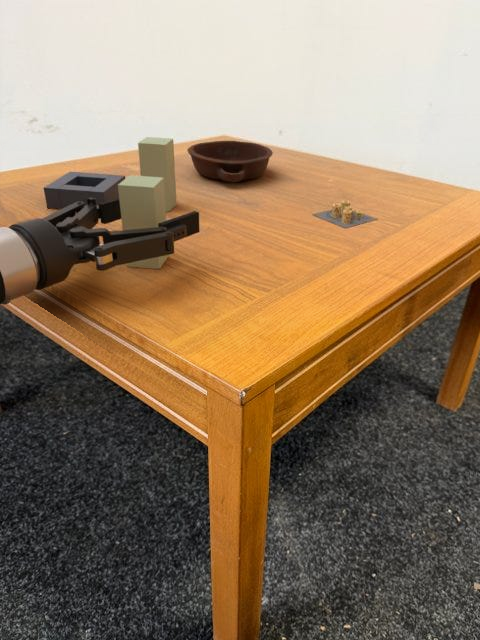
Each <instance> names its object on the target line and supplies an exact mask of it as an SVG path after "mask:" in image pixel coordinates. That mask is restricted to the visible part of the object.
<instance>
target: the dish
mask: <svg viewBox="0 0 480 640" xmlns="http://www.w3.org/2000/svg"><path fill="white" fill-rule="evenodd" d="M186 151H187V153H188V155H190V157H191V161H192V164H193V167H194V168H195V170H196V172H197V173H198V174H199V175H201V176H204V177H207V178H210V179H215V180H220V181H224V182H229V183H238V182H239V183H240V181H247V180H252V179H256V178H259V177H261V176H262V175H263V174H264V173H265V172H266V170H267V168H268V165H269V161H270V158H271V157H272V156H273V154H274V152H273V151H272V149H271V148H269V147H267V146H265V145H262V144H260V143H255V142H249V141H239V140H215V141H206V142H200V143H199V142H198V143H195V144H192V145H191V146H189V147H187V150H186Z"/></svg>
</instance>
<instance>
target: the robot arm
mask: <svg viewBox="0 0 480 640" xmlns="http://www.w3.org/2000/svg"><path fill="white" fill-rule="evenodd" d="M98 204H99V205H96V199H95V198H87V205H86V206H84V202H81V201H78V202H75V203H73V204H71V205H69V206H67V207H65V208H63V209H58V210H57V211H55V212H53V213H51V214H49V215H48V214H47V215H46V216H44V217H35V218H32V219H28V220H24V221H21V222H17V223H13V224H11V225H9V226H1V227H0V305H9V304H10V303H11V301H13V300H16V299H18V298H20V297H23V296H26V295H29V294H32V293H33V292H34V291H41V290H43V289H44V290H45V289H47V288H49V287H52V286H54V285H57V284H60V283H62V282H64V281H65V280H67V278H68V277H69V275H70V273H71V271H72V268H73V267H74V266H75V265H79V264H80V265H81V264H88V263H89V262H93V263H95V267H96V270H97V271H99V272H105V271H107V270H109V269H112V268H115V267H117V266H122V265H126V264H127V263H132V262H136V261H141V260H146V259H151V258H155V257H160V256H165V255H169V256H170V255H173V254H175V242H178V241H180V240H183V239H185V238H187V237H191V236H193V235H196V234H198V233H200V212H199V211H197V210H194V211H191V212H188V213H185V214H182V215H179V216H175V217H173V218H170V219H166V220H167V221H164V222H161V223H158V227H154V228H143V229H132V230H123V229H122V230H121V229H119V230H109V229H108V228H106V227H98V228H95V227H96V225H98V224H99V222H100V223H101V224H103V225H106V224H110V223H113V222H117V221H119V220H122V219H121V210H120V201H119V198H116V199H112V200H108V201H105V202H101V203H98ZM100 237H102V243H101V241H100Z"/></svg>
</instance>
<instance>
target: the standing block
mask: <svg viewBox="0 0 480 640" xmlns="http://www.w3.org/2000/svg"><path fill="white" fill-rule="evenodd" d="M174 145H175V144H174V138H169V137H168V138H167V137H152V136H146V137H144V138H143V139H141V140H140V141H139V142H137V147H138V158H139V160H138V161H139V170H140V171H139V172H140V176H148V177H162V178H164V188H165V204H166V213H170V212H171V211H172V209H173V208H174V207H175V206H176V205H177V203H178V202H177V186H176V185H177V184H176V166H175V164H176V163H175V146H174Z"/></svg>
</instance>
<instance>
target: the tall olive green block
mask: <svg viewBox="0 0 480 640" xmlns="http://www.w3.org/2000/svg"><path fill="white" fill-rule="evenodd" d="M118 191H119V201H120V210H121V219H120V220H121V226H122V228H121V229H122V230H132V229H143V228H154V227H158V223H161V222H164V221H167V220H168V219H167V211H166V204H165V188H164V178H162V177H148V176H141V175H135V174H134V175H132V174H129V175H128V176H127V177H125V180H123V181H122V182H121V183H120V184H118ZM169 256H170V255H165V256H160V257H155V258H151V259H146V260H141V261H136V262H132V263H127V264H125V265H126V266H125V267H131V268H142V269H155V270H160V269H161V268H162V266H163V265H164V263H165V262H166V261H167V259H168V258H169Z"/></svg>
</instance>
